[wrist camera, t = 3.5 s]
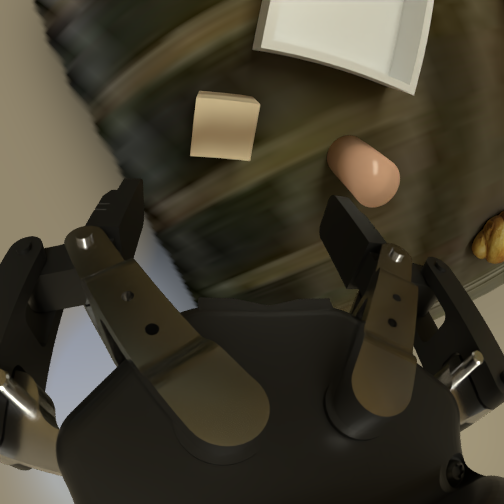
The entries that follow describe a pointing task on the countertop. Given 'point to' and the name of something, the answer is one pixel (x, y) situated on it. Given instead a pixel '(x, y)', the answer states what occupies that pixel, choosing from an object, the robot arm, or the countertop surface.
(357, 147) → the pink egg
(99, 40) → the countertop surface
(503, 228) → the bread roll
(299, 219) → the countertop surface
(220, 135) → the birch cube
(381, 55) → the tote
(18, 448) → the robot arm
